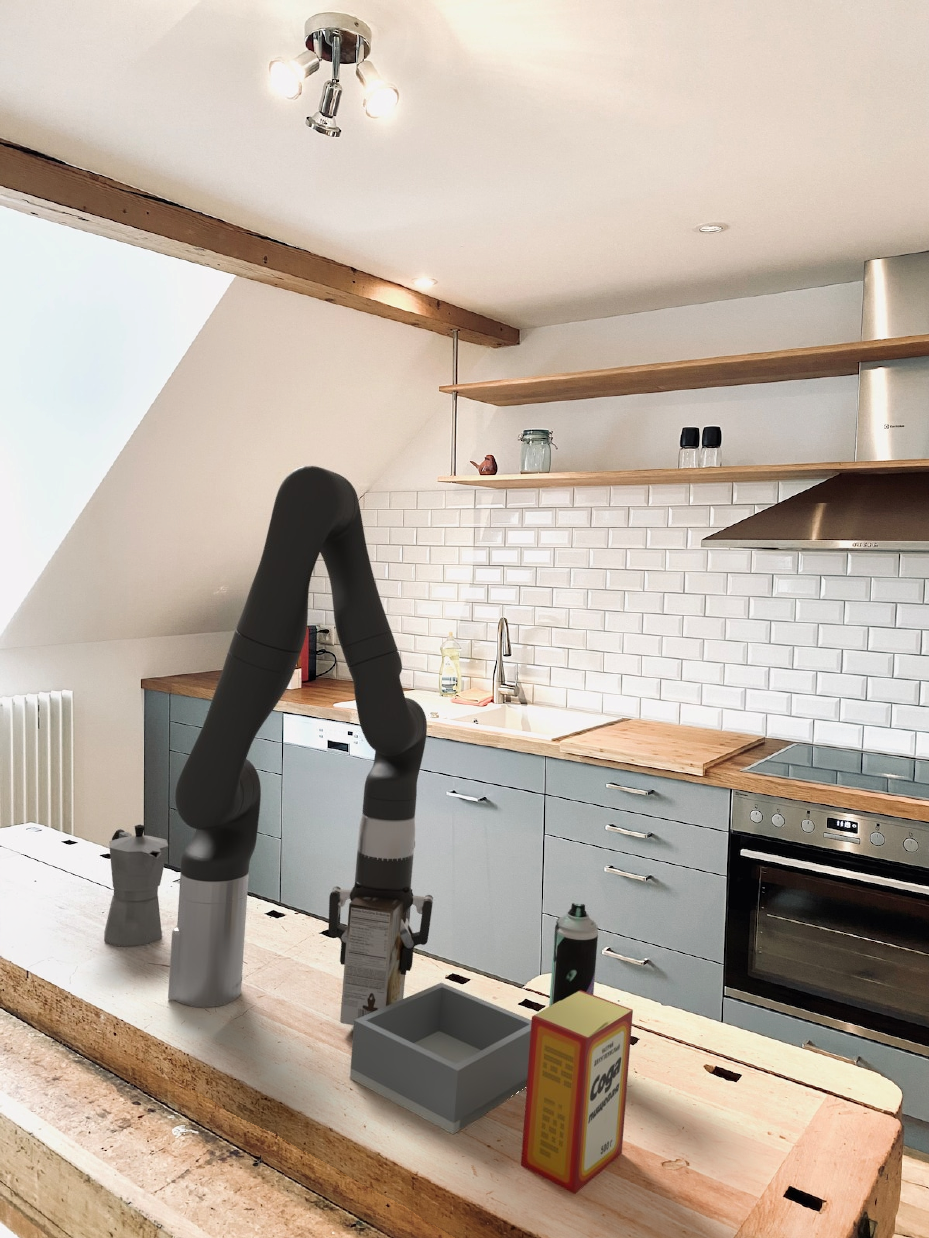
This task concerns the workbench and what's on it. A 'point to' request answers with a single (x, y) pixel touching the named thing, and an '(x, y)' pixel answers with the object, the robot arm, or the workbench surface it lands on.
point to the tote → (442, 1055)
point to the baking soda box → (576, 1089)
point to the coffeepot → (135, 888)
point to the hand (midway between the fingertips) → (375, 969)
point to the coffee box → (372, 957)
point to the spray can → (573, 954)
